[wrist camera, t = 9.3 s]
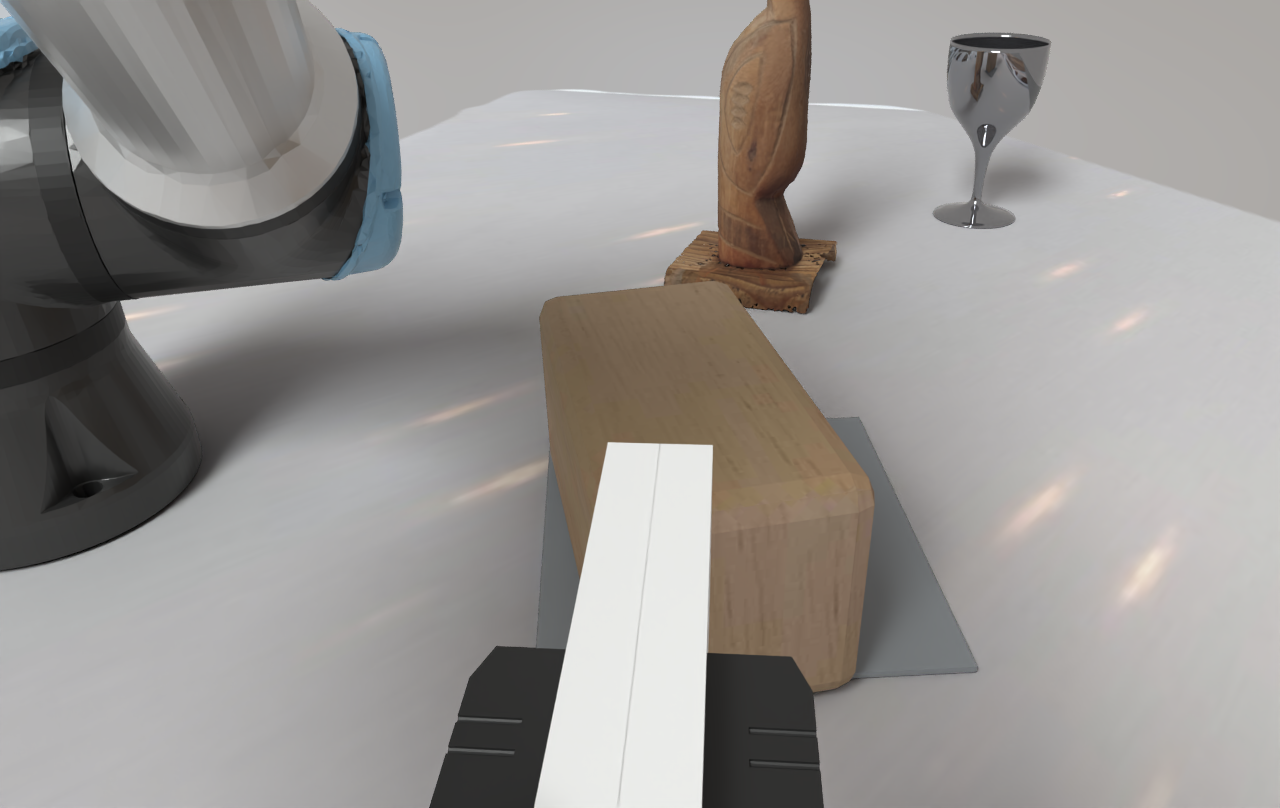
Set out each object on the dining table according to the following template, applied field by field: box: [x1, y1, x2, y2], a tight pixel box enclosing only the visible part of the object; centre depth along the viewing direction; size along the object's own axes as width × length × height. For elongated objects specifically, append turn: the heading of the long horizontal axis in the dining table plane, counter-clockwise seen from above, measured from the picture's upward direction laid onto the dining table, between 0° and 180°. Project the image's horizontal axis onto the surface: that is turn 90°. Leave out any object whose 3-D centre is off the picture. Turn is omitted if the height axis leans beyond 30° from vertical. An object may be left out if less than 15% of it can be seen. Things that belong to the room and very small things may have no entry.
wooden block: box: [539, 281, 875, 692], centre depth 43 cm, size 10×10×20 cm
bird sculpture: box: [664, 0, 837, 314], centre depth 68 cm, size 11×12×32 cm
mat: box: [536, 417, 978, 678], centre depth 48 cm, size 20×18×1 cm
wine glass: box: [933, 33, 1051, 229], centre depth 84 cm, size 8×8×15 cm
